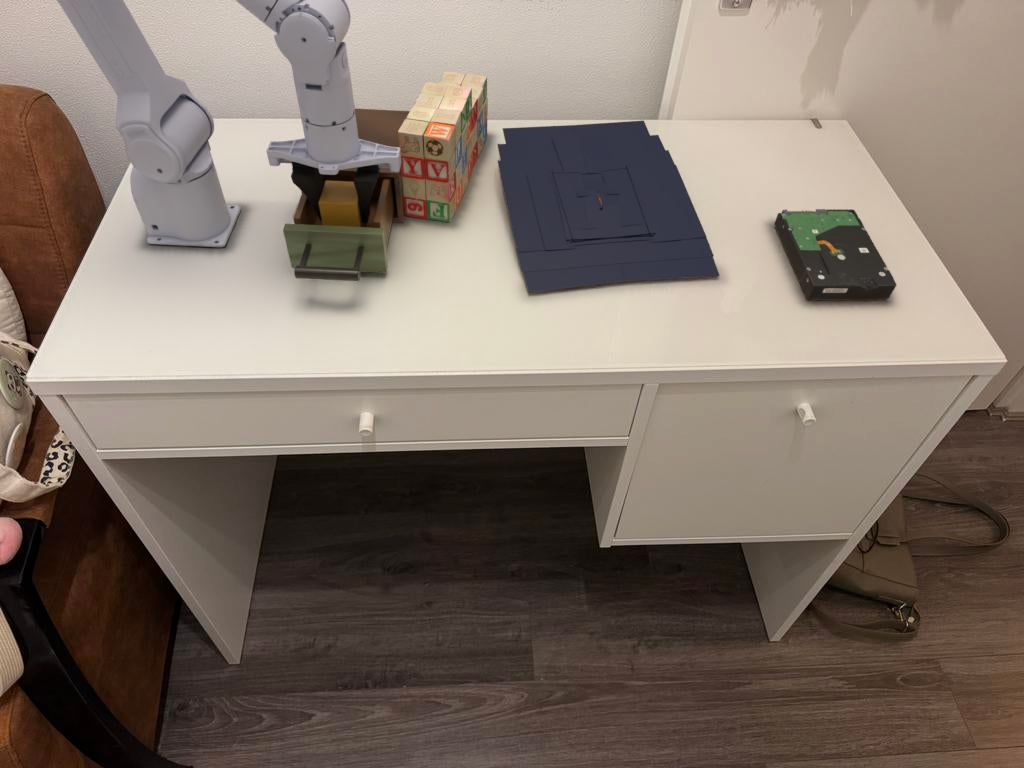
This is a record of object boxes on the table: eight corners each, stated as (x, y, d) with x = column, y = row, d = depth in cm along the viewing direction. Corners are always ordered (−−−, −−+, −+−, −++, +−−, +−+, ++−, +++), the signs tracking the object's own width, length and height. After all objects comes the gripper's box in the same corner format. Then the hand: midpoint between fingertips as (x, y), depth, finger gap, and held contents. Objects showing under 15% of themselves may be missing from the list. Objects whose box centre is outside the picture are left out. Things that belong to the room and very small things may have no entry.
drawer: (380, 303, 85) (375, 265, 81) (281, 299, 85) (271, 260, 81) (400, 204, 97) (397, 166, 93) (314, 200, 97) (307, 162, 93)
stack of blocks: (446, 130, 111) (444, 48, 101) (488, 136, 110) (489, 54, 101) (404, 216, 97) (396, 130, 88) (451, 224, 96) (448, 137, 87)
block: (324, 237, 89) (318, 202, 86) (331, 214, 92) (325, 180, 89) (361, 239, 90) (356, 204, 86) (367, 216, 92) (362, 182, 89)
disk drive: (889, 302, 90) (846, 224, 100) (899, 284, 88) (855, 207, 97) (806, 303, 89) (771, 224, 99) (814, 286, 87) (777, 207, 97)
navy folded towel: (652, 135, 110) (657, 114, 107) (715, 290, 93) (724, 270, 90) (488, 145, 106) (489, 123, 103) (524, 307, 90) (526, 287, 87)
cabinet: (403, 222, 96) (399, 172, 91) (306, 218, 96) (296, 168, 90) (415, 159, 106) (412, 111, 100) (327, 155, 105) (319, 106, 100)
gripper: (249, 129, 77) (276, 235, 87) (391, 135, 77) (401, 240, 87) (266, 94, 81) (289, 199, 92) (399, 100, 82) (408, 204, 92)
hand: (344, 217), depth 90 cm, fingers closed on block, 4 cm apart
